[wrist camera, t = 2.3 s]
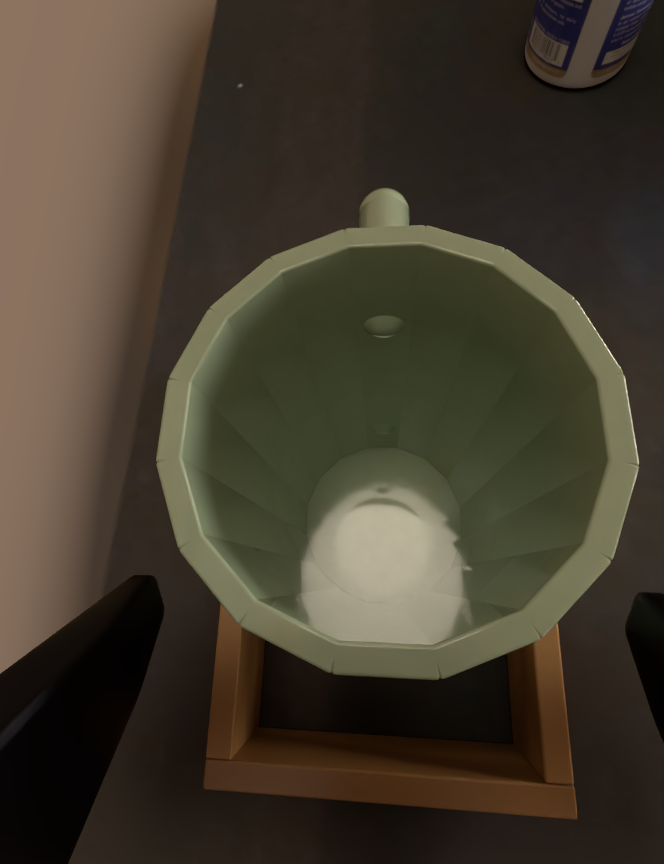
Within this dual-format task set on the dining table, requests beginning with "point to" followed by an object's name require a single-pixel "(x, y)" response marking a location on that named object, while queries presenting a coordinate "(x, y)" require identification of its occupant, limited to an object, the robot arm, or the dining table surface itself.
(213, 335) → the green faceted mug
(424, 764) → the brown wooden rectangular frame
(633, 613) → the robot arm
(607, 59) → the pill bottle
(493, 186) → the dining table surface
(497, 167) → the dining table surface
